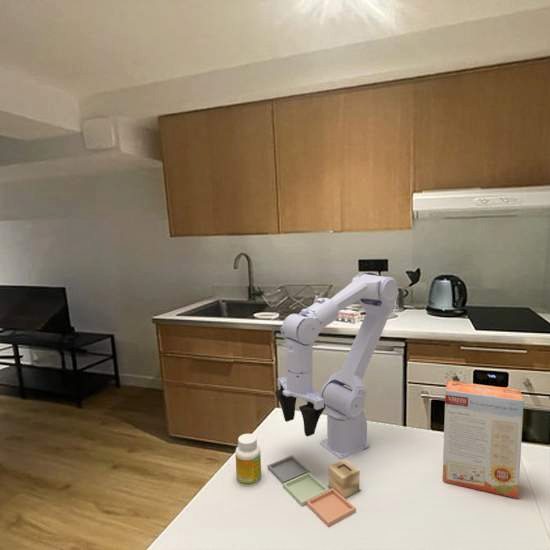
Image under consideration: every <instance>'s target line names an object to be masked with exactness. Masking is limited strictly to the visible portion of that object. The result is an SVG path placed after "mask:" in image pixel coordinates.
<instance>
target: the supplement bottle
mask: <svg viewBox="0 0 550 550" xmlns="http://www.w3.org/2000/svg"><path fill="white" fill-rule="evenodd" d="M257 442H258V440H257V436H256V435H255V434H252V433H243V434H241V435H240V436H238V438H237V445H238V446H236V448H235V471H236V472H235V473H236V474H235V475H236V482H237V483H238V484H239V485H240V486H243V487H253V486H255V485H258V484H259V483H260V482H261V480H262V461H261V459H262V458H261V448H260V446H259V445H258V443H257Z"/></svg>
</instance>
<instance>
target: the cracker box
mask: <svg viewBox="0 0 550 550" xmlns="http://www.w3.org/2000/svg"><path fill="white" fill-rule="evenodd" d="M445 383H446V384H445V398H444V424H443V453H442V454H443V455H442V481H443V482H444V483H448V484H453V485H456V486H460V487H465V488H470V489H475V490H479V491H483V492H488V493H491V494H497V495H501V496H506V497H509V498H514V499H518V498H519V490H520V473H521V472H520V470H521V456H522V455H521V453H522V437H523V420H524V406H525V405H524V404H525V403H524V402H525V400H524V398H523V394H522V393H521V390H520V389H519V388H518V389H517V388H512V387H511V388H510V387H501V386H495V385H486V384H480V383H478V384H477V383H471V382H464V381H463V382H462V381H457V380H456V381H455V380H449V379H448V380H446V382H445Z"/></svg>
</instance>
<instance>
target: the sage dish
mask: <svg viewBox="0 0 550 550" xmlns="http://www.w3.org/2000/svg"><path fill="white" fill-rule="evenodd" d="M282 488H283V489H284V490H285V492H287V493H288V494H289V495H290V496H291V497H292V499H293V500H294V501H295V502H297V503H298V505H300V507H304V506H307V505H306V501H308V500H310V499H312V498H314V497H316V496H318V495H320V494H322V493H324V492H326V491H328V490H330V488H328V487H326V486H325V485H324V484H323V483H322V482H321V481H320V480H319V479H318V478H316V477H315V476H314V475H313V474H312V473H311V472H310V473H309V472H308V473H306V474H304V475H301V476H299V477H297V478H295V479H292V480H290V481H288V482H286V483H283V484H282Z"/></svg>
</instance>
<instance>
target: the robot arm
mask: <svg viewBox="0 0 550 550" xmlns="http://www.w3.org/2000/svg"><path fill="white" fill-rule="evenodd" d="M398 287H399V286H398V282H397V280H396V279H395V278H394V277H392V276H383V275H375V274H368V273H366V272H365V273H364V272H362V273H359V274H358V275H356V276H354V277H352V279H351V282H350V283H349V284H348V285H347V286H345V287H344V288H342V290H340V291H338V292H337V293H336V294H335V295H334V296H332V297H331V298H328V297H319V298H317V299H316V300H315V301H316V302H314V303H313V304H311V305H310V306H308V307H307V308H302V309H301V311H300V312H299V313H291V314H289V315H288V316H286V318H284V319H283V322H282V326H280V334H281V335H282V337H283V338H284V345H285V346H286V347H285V349H286V361H285V362H286V363H285V364H286V365H285V367H286V376H282V377H279V378H277V387H278V388H279V389H278V390H275V392H274V393H275V396H276V398H277V400H278V402H279V404H280V407H281V411H282V414H283V419H284V422H286V423H287V422H291V421H293V420H294V418H295V416H296V415H295V414H296V402H297V399H299V400H303V401H305V403H307V404H303V405H301V406H299V411H300V413H301V416H302V421H303V430H304V435H305V436H306V437H310V436H311V437H312V436H313V435H315V432H316V429H317V425H318V423H319V420H320V417H321V415H322V414H323V412H324V410H325V411H326V413H327V414H326V415H327V416H326V424H327V425H326V428H327V432H326V434H327V435H326V436H327V437H326V439H324V440H321V441H320V442H319V444H320V445H321V446H322V447H323V448H325V449H326V450H327V451H329V452H330V453H332V454H333V455H334V456H335V457H337V458H338V459H339V460H342V459H343V460H344V458H347V457H349V456H351V455H353V454H356V453H359V452H360V451H363V450H364V449H367V448H370V444H369V443H368V438H367V437H368V422H367V417H366V414H365V413H364V411H363V410H364V407H365V401H366V397H367V394H368V389H367V388H366V386H365V384H364V382H363V378H364V375H365V374H366V371H367V368H368V366H369V364H370V363H371V362H370V361H371V359H372V356H373V355H374V352H375V350H376V347H377V344H378V342H379V340H380V339H381V336H382V333H383V331H384V329H385V326H386V324H387V321H388V319H389V316H390V314H391V313H392V311H393V309H394V307H395V306H394V305H395V303H396V301H397V300H398V296H399V294H400V293H399V288H398ZM357 302H359V305H360V306H361V307H362V309H364V312H365V316H364V318H363V320H362V323H361V325H360V327H359V329H358V331H357V333H356V336H355V338H354V340H353V343H352V345H351V347H350V350H349V351H348V355H347V357H346V359H345V361H344V363H343V365H342V368H341V370H339V371H336V372H335V373H332V374H331V375H330V377H329V379H328V380H327V381H326V382H325V384H324V385H323V386H322V387H321V390H320V393H318V392H317V391H316V389H315V388H314V387H313V351H314V350H313V346H314V345H313V343H315V342H316V341H317V339H318V336H319V335H320V333H321V332H322V330H323V329H325V328H326V327H327V326H328V325H331V324H332V323H333V322H334V321H336V320H338V318H339V313H340V312H341V311H342V310H344V309H346V308H348V307H349V306H351V305H353V304H354V303H357ZM346 386H347V387H346Z"/></svg>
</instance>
